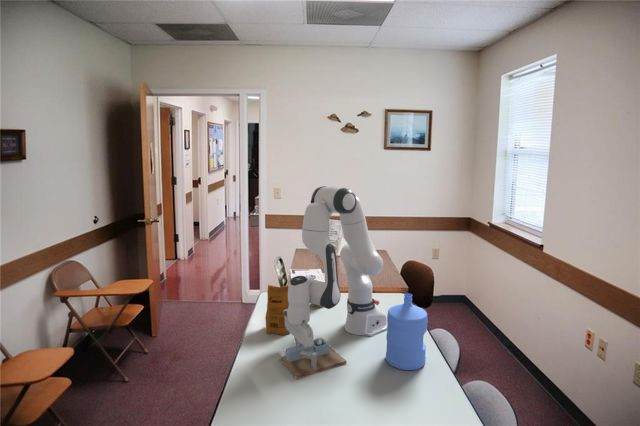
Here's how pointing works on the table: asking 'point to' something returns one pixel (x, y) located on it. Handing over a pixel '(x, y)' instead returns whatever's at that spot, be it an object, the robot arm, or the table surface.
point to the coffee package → (276, 310)
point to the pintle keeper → (311, 354)
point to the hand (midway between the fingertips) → (299, 347)
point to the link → (293, 352)
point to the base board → (323, 363)
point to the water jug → (406, 335)
